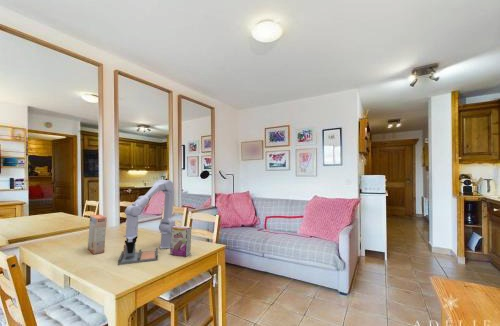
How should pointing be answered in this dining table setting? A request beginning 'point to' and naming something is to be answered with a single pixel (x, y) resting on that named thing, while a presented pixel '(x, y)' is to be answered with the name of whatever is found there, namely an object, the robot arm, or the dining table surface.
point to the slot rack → (138, 257)
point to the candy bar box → (180, 241)
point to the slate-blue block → (129, 253)
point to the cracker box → (97, 234)
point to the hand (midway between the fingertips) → (130, 251)
